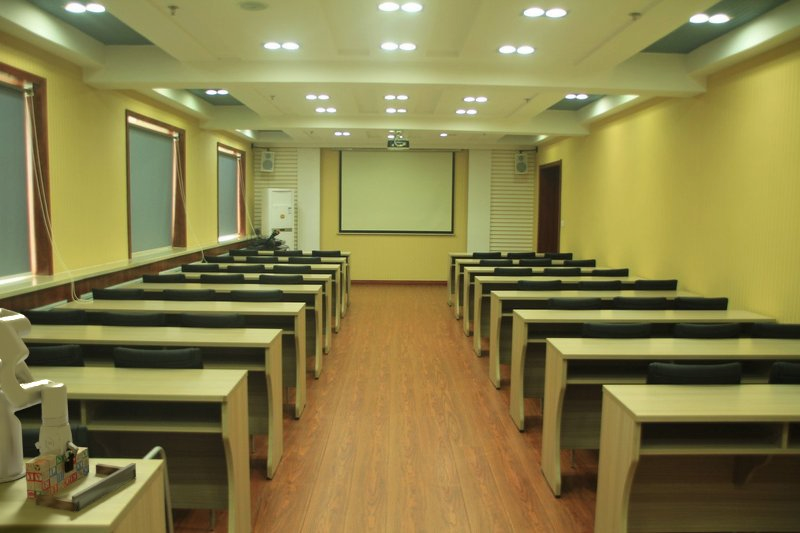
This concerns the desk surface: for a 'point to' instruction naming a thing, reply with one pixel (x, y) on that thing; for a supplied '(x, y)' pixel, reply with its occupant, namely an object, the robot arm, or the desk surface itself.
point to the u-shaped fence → (91, 488)
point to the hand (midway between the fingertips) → (57, 469)
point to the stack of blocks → (54, 473)
